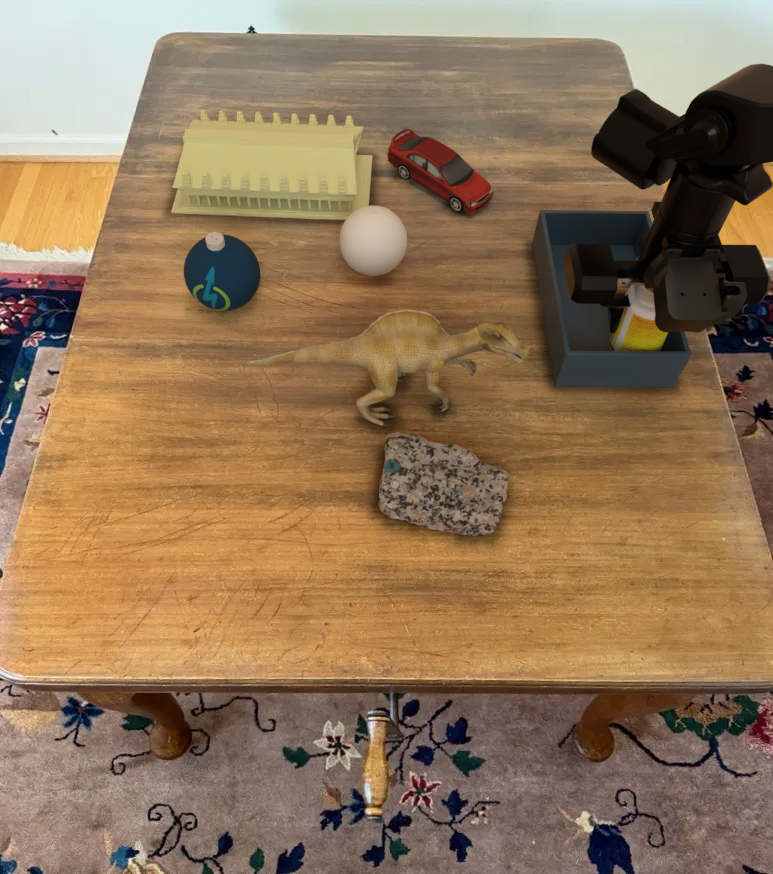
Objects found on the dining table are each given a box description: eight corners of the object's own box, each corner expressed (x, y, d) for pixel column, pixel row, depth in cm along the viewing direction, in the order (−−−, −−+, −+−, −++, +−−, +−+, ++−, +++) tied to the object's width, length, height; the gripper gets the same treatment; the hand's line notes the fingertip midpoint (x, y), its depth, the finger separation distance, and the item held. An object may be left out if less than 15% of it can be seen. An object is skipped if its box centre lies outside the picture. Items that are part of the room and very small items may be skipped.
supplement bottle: (669, 356, 81) (700, 289, 72) (627, 374, 79) (653, 308, 71) (638, 321, 83) (664, 253, 75) (596, 339, 82) (618, 271, 74)
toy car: (413, 150, 102) (415, 118, 98) (494, 204, 97) (500, 172, 92) (384, 168, 100) (384, 135, 96) (465, 224, 94) (470, 192, 90)
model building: (372, 155, 102) (372, 107, 96) (367, 222, 94) (367, 175, 88) (190, 148, 102) (179, 99, 96) (171, 214, 94) (157, 167, 88)
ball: (336, 288, 88) (334, 236, 81) (343, 241, 92) (341, 188, 86) (404, 292, 88) (407, 240, 81) (407, 245, 92) (410, 192, 86)
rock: (368, 521, 72) (368, 499, 68) (386, 446, 76) (387, 422, 72) (497, 546, 70) (505, 525, 67) (508, 469, 75) (515, 445, 71)
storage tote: (673, 387, 81) (691, 355, 76) (554, 386, 81) (566, 354, 76) (634, 245, 93) (648, 210, 88) (531, 245, 93) (539, 209, 88)
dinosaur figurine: (514, 416, 78) (538, 332, 67) (262, 438, 76) (244, 356, 65) (499, 359, 83) (520, 272, 71) (260, 379, 81) (243, 292, 69)
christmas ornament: (176, 305, 86) (156, 239, 78) (225, 263, 90) (210, 196, 82) (231, 337, 84) (216, 273, 75) (279, 293, 87) (269, 227, 79)
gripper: (602, 278, 61) (562, 391, 75) (825, 279, 62) (746, 391, 75) (581, 190, 68) (547, 308, 81) (785, 191, 68) (718, 309, 81)
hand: (638, 330), depth 79 cm, fingers closed on supplement bottle, 5 cm apart
